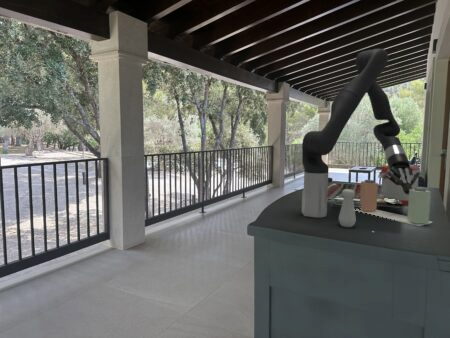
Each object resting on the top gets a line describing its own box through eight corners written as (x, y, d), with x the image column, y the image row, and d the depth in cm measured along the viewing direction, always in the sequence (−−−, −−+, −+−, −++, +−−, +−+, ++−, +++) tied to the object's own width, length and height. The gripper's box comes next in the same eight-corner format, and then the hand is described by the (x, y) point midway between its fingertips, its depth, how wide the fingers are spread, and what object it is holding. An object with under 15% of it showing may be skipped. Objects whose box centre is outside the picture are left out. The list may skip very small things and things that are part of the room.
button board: (352, 210, 145) (352, 209, 145) (365, 208, 150) (365, 207, 150) (419, 226, 122) (419, 225, 122) (432, 222, 126) (432, 221, 126)
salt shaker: (356, 228, 118) (358, 191, 117) (339, 227, 119) (341, 190, 118) (354, 224, 124) (355, 188, 122) (337, 223, 125) (339, 188, 123)
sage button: (414, 223, 123) (416, 189, 121) (407, 219, 127) (409, 187, 126) (428, 223, 122) (431, 189, 121) (421, 219, 127) (423, 187, 126)
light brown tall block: (364, 210, 141) (365, 181, 140) (359, 208, 146) (361, 179, 145) (376, 210, 141) (378, 181, 140) (371, 208, 146) (373, 179, 145)
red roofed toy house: (372, 198, 171) (374, 158, 168) (409, 200, 168) (412, 159, 166) (382, 205, 155) (384, 161, 153) (423, 207, 153) (426, 162, 151)
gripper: (383, 152, 139) (395, 186, 128) (416, 152, 138) (431, 187, 127) (377, 164, 144) (387, 198, 134) (409, 164, 144) (422, 199, 133)
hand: (409, 193), depth 130 cm, fingers closed
